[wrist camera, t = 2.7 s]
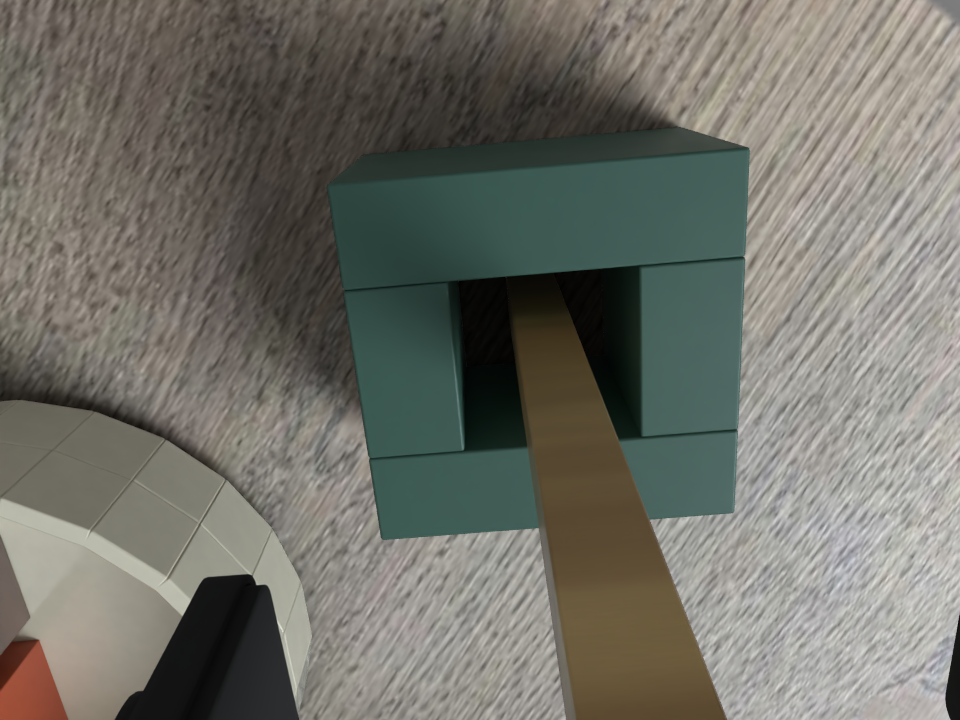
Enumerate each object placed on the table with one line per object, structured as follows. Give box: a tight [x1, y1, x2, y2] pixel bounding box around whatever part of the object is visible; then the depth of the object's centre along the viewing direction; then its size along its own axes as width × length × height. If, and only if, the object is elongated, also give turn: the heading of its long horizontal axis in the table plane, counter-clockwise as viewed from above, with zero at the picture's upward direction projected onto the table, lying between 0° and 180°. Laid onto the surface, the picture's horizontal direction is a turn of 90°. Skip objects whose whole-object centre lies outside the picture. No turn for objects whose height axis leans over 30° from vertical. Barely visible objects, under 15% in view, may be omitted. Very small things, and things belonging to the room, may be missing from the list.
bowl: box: [0, 400, 312, 720], centre depth 26 cm, size 18×18×6 cm
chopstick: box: [506, 273, 727, 720], centre depth 15 cm, size 2×2×20 cm
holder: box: [327, 127, 750, 540], centre depth 21 cm, size 10×10×6 cm
